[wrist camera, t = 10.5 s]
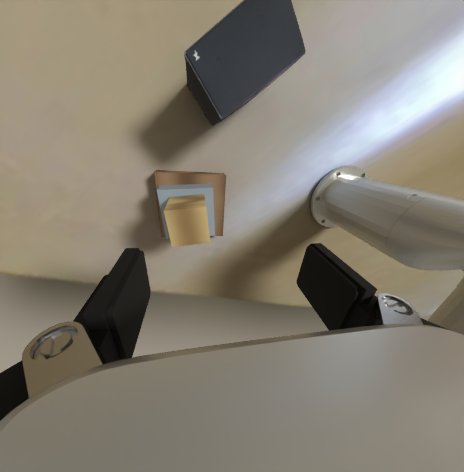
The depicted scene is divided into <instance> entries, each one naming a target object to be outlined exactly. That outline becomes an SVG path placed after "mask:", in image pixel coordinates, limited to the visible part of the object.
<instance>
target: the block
mask: <svg viewBox="0 0 464 472" xmlns="http://www.w3.org/2000/svg"><path fill="white" fill-rule="evenodd" d="M164 214H165V219H166V223H167V227H168V232H169V236H170V240H171V245H172V247H177V246H185V245H193V244H201V243H209V242H210V234H209V225H208V217H207V208H206V202H205V196H204V194H199V195H187V196H176V197H170V198H169V200H168V202H167V205H166V207H165V209H164Z"/></svg>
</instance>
